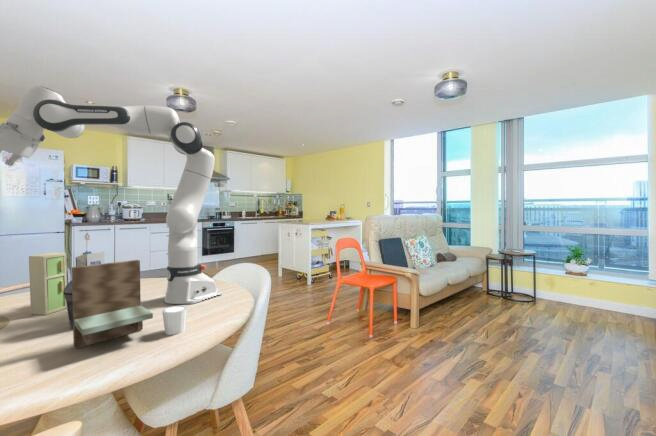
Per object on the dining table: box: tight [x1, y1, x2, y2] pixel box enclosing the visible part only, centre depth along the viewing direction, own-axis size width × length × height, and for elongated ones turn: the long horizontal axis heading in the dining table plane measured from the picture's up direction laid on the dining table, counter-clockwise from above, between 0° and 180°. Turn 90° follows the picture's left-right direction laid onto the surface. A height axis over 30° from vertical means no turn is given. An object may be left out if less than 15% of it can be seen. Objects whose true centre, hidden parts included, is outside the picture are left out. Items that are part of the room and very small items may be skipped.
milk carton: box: [75, 251, 105, 267], centre depth 124 cm, size 7×7×20 cm
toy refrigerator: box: [28, 252, 68, 316], centre depth 111 cm, size 8×7×21 cm
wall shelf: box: [71, 259, 154, 349], centre depth 86 cm, size 16×12×22 cm
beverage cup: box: [64, 265, 83, 331], centre depth 97 cm, size 7×7×20 cm
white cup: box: [162, 305, 188, 336], centre depth 95 cm, size 7×7×7 cm
